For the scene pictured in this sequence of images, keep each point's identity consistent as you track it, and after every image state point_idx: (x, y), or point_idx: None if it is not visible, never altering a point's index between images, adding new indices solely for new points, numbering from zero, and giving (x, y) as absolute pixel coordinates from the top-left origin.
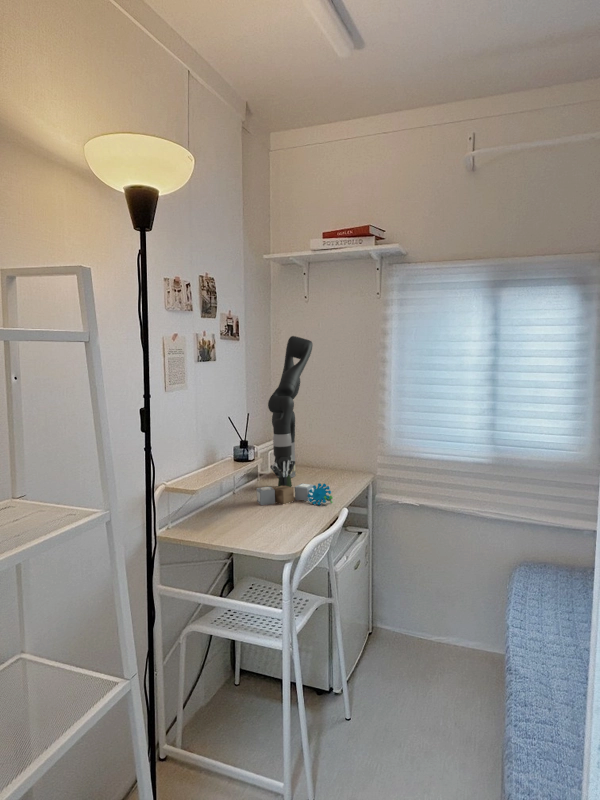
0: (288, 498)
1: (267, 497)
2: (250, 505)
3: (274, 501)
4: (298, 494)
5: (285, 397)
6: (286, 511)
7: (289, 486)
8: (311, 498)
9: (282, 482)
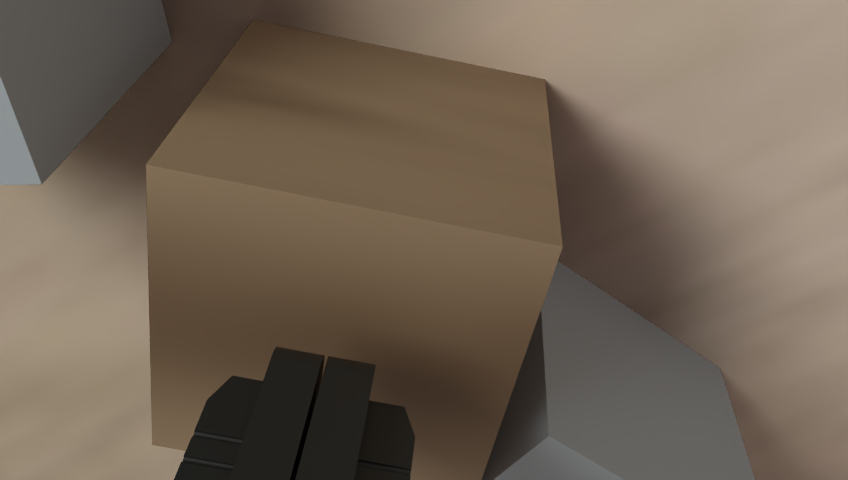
0: (397, 91)
1: (660, 404)
2: (770, 474)
3: None
4: (93, 2)
5: None
6: None
7: None
8: None
9: (408, 469)
